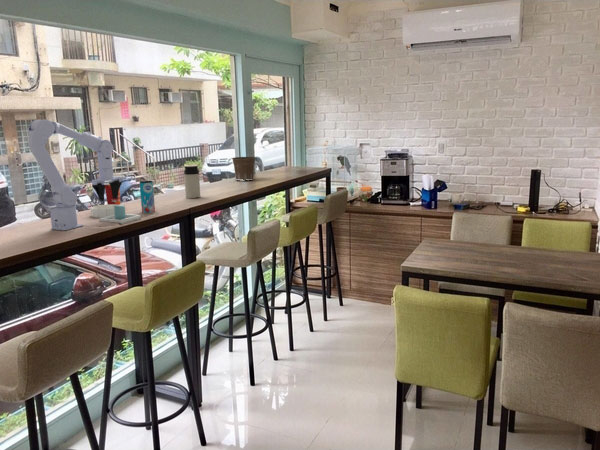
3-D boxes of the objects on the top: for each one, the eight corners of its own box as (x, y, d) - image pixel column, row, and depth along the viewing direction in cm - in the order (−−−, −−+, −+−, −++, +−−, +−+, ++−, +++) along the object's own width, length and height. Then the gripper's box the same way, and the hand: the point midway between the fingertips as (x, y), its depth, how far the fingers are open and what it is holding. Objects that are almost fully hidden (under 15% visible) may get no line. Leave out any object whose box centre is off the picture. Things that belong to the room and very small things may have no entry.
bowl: (106, 219, 222) (105, 209, 221) (85, 218, 227) (84, 208, 226) (127, 214, 233) (126, 205, 232) (106, 213, 238) (105, 203, 237)
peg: (120, 220, 216) (119, 206, 215) (113, 220, 218) (111, 206, 217) (128, 218, 220) (126, 205, 219) (120, 218, 222) (119, 204, 221)
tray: (121, 224, 211) (120, 220, 211) (99, 222, 216) (99, 218, 216) (141, 219, 222) (140, 215, 221) (120, 217, 227) (119, 213, 226)
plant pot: (249, 182, 343) (248, 158, 339) (228, 181, 348) (227, 158, 345) (260, 179, 357) (259, 156, 354) (239, 179, 363) (238, 156, 360)
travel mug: (190, 198, 276) (188, 166, 272) (183, 197, 282) (181, 165, 278) (203, 197, 281) (201, 165, 278) (195, 195, 287) (193, 164, 283)
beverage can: (144, 214, 232) (141, 182, 229) (140, 212, 237) (137, 181, 234) (156, 213, 235) (154, 181, 232) (153, 211, 240) (150, 180, 237)
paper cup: (117, 210, 244) (114, 182, 241) (103, 210, 246) (100, 181, 243) (125, 207, 252) (123, 180, 249) (111, 207, 253) (109, 179, 250)
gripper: (111, 166, 223) (114, 196, 226) (85, 169, 211) (88, 201, 213) (123, 166, 220) (126, 197, 223) (97, 169, 208) (100, 202, 210)
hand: (108, 199), depth 218 cm, fingers open, 7 cm apart
